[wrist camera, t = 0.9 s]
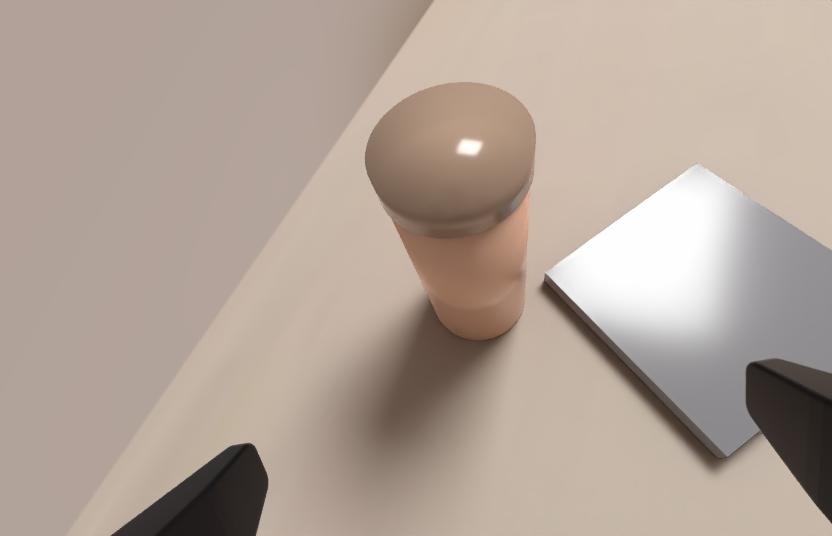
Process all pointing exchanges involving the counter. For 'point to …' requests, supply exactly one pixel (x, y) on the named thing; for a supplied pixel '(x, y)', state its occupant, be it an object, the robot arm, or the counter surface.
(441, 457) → the counter surface
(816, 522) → the counter surface
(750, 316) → the coaster
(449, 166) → the spice jar
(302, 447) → the counter surface
